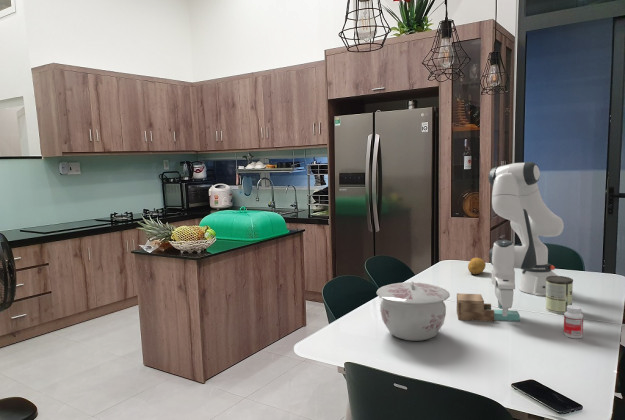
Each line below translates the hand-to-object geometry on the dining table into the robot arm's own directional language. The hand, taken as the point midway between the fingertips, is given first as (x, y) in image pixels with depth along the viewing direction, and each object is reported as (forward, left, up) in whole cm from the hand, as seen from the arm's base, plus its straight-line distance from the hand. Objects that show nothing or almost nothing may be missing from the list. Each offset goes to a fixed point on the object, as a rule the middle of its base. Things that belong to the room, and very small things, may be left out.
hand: (502, 311), depth 189 cm
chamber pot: (+36, +24, -3) cm, 43 cm away
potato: (+2, -76, -3) cm, 76 cm away
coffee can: (-25, -14, -3) cm, 29 cm away
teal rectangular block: (0, 0, -3) cm, 3 cm away
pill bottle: (-22, +16, -3) cm, 27 cm away
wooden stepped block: (+11, 0, -3) cm, 11 cm away
